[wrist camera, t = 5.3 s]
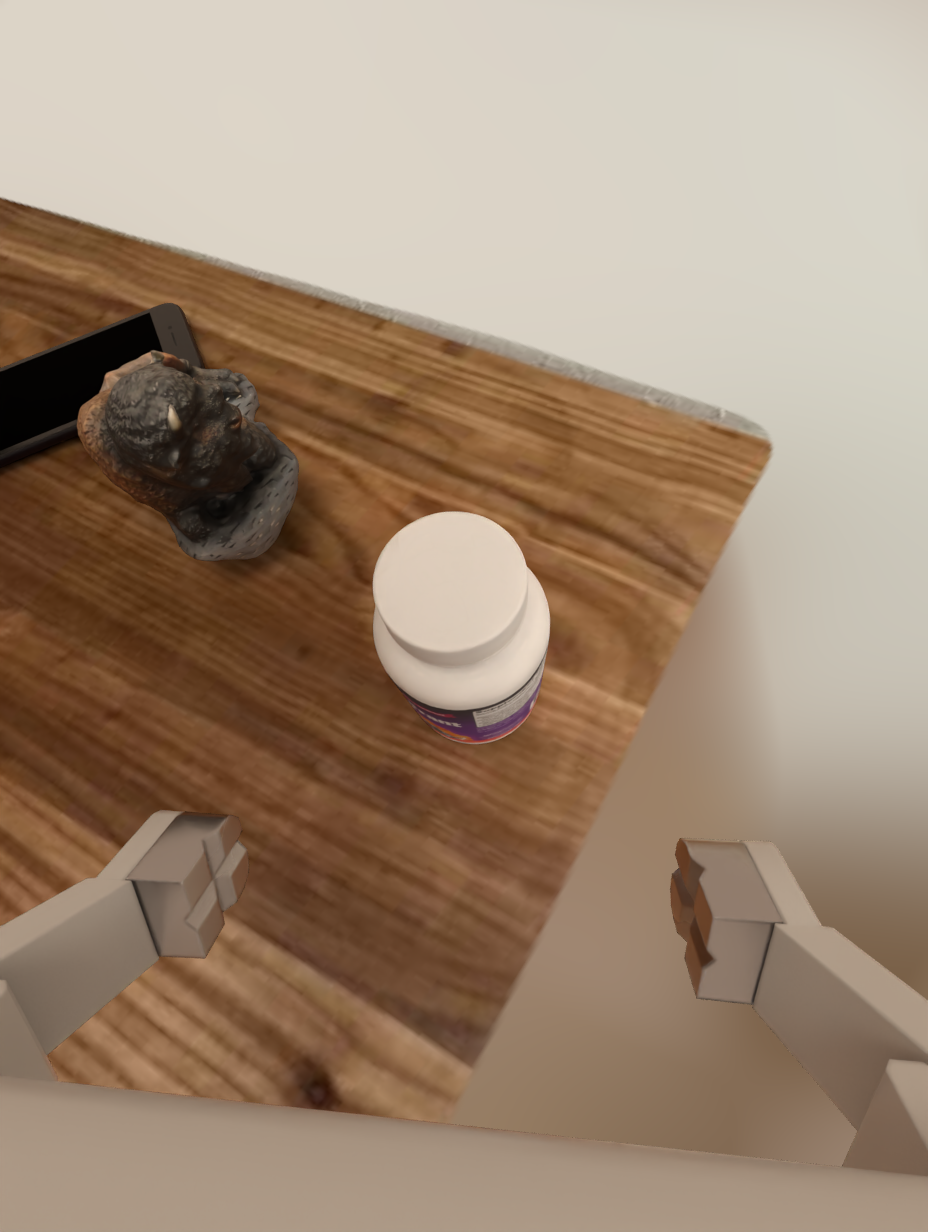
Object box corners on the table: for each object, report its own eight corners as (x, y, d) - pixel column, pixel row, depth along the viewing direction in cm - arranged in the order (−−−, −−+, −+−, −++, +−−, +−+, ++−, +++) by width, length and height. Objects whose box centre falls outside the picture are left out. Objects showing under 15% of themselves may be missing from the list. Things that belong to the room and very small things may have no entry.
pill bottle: (386, 672, 23) (305, 564, 14) (485, 598, 24) (467, 453, 15) (463, 775, 21) (426, 726, 12) (567, 691, 22) (603, 588, 13)
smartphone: (-59, 402, 32) (-74, 390, 31) (182, 306, 33) (174, 293, 32) (-49, 494, 29) (-66, 484, 28) (214, 385, 30) (205, 372, 30)
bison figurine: (133, 451, 29) (-44, 269, 20) (246, 386, 30) (129, 186, 21) (227, 611, 25) (56, 474, 16) (355, 529, 26) (267, 356, 17)
